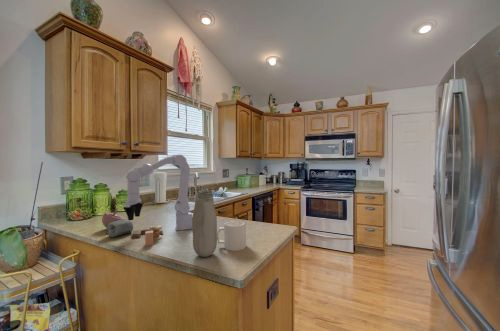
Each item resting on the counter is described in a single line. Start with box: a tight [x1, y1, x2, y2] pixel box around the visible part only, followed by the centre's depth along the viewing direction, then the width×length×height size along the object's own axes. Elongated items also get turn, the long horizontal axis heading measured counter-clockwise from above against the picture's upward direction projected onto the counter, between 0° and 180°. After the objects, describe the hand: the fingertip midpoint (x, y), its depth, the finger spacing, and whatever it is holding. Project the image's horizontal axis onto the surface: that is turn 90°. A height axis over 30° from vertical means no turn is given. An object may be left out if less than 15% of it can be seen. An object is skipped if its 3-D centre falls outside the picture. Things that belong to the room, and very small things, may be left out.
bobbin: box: [148, 224, 163, 241], centre depth 124 cm, size 6×6×6 cm
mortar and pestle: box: [101, 209, 126, 228], centre depth 142 cm, size 12×12×12 cm
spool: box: [105, 218, 134, 238], centre depth 130 cm, size 14×10×10 cm
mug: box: [217, 220, 247, 252], centre depth 110 cm, size 14×10×11 cm
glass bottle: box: [192, 188, 218, 258], centre depth 100 cm, size 10×10×28 cm
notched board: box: [131, 227, 164, 239], centre depth 130 cm, size 15×7×2 cm, turn 113°
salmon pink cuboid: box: [144, 231, 154, 247], centre depth 115 cm, size 4×4×6 cm
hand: (134, 218), depth 127 cm, fingers open, 7 cm apart
